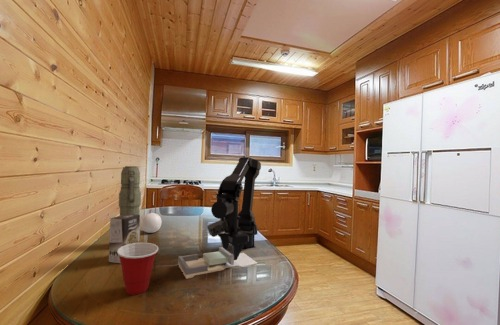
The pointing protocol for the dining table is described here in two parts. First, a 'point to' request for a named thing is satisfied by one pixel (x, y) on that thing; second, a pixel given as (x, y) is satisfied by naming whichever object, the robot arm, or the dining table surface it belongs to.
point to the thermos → (130, 191)
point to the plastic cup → (137, 266)
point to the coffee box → (122, 234)
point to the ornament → (151, 222)
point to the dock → (199, 266)
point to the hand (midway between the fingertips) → (230, 255)
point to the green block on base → (218, 257)
